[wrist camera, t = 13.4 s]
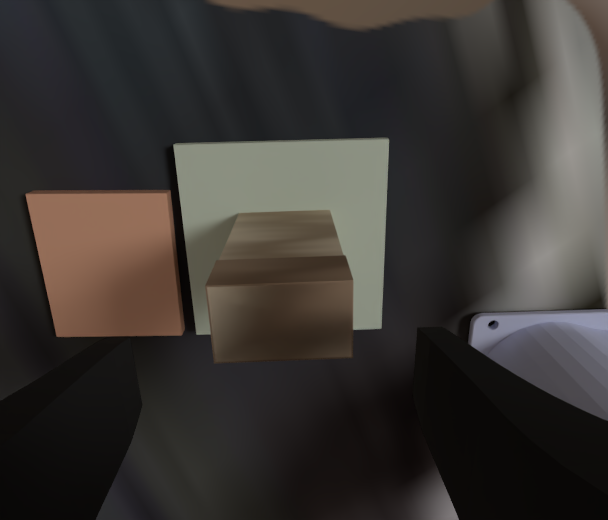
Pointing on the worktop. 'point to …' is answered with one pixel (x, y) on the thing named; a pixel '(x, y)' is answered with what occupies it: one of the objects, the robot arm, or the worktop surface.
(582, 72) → the worktop surface
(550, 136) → the worktop surface
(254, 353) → the brown wooden box
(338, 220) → the mat
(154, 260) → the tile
